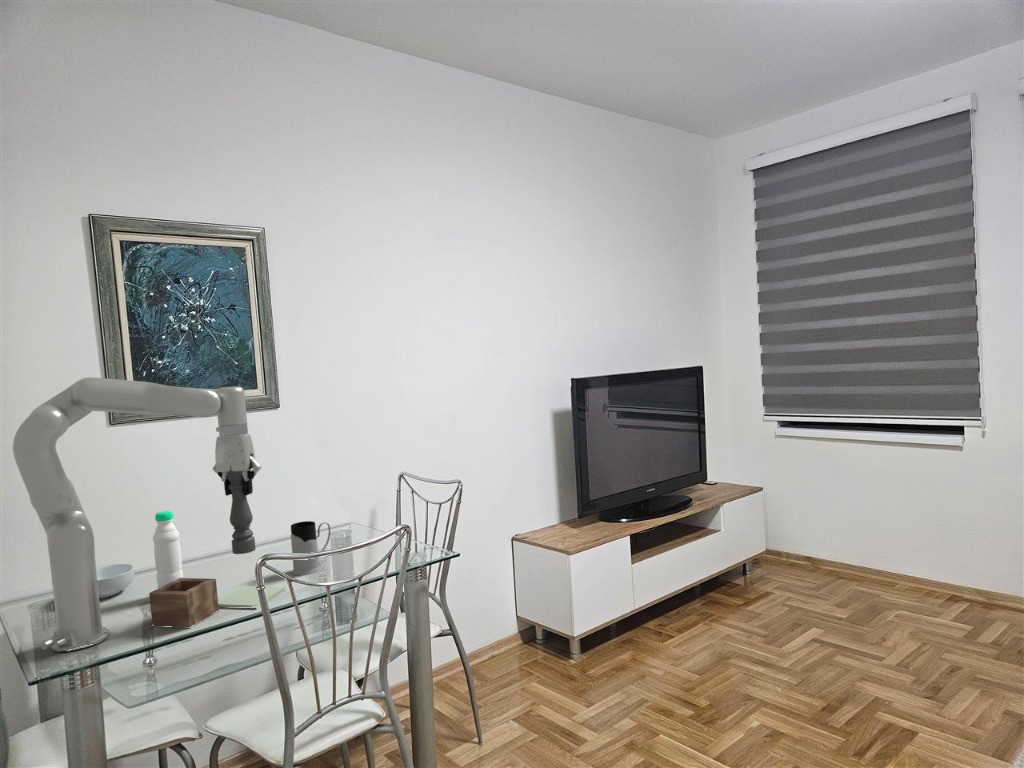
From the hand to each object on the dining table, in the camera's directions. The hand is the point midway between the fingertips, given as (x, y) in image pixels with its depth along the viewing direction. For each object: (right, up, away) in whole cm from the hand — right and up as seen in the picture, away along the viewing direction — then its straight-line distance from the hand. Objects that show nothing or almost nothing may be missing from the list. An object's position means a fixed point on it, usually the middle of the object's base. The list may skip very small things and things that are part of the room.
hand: (239, 493), depth 197 cm
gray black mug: (+14, -28, +27) cm, 41 cm away
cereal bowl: (-46, -33, +14) cm, 59 cm away
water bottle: (-24, -32, +10) cm, 41 cm away
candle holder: (+1, -17, +1) cm, 17 cm away
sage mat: (+2, -30, +2) cm, 30 cm away
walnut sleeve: (-10, -32, -10) cm, 35 cm away
